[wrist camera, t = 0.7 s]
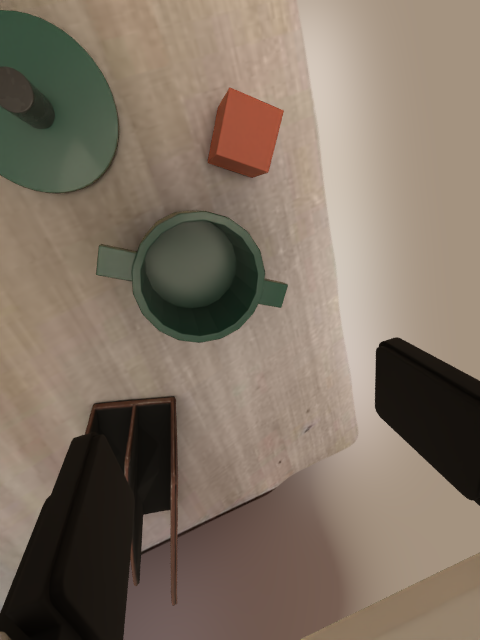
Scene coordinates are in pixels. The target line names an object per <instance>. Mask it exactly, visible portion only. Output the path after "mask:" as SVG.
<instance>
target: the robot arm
mask: <svg viewBox="0 0 480 640" xmlns="http://www.w3.org/2000/svg"><path fill="white" fill-rule="evenodd" d="M375 381H376V382H375V409H376V412H377V413H378V415H379V416H380V417H381V418H382V419H383V420H384V421H385V422H386V423H387V424H388V425H389V426H390V427H391V428H393V430H394V431H396V432H397V433H398V434H399V435H400V436H401V437H402V438H403V439H404V440H405V441H406V442H407V443H409V445H410V446H412V447H413V448H414V449H415V450H416V451H417V452H418V453H419V454H420V455H421V456H422V457H423V458H424V459H425V460H426V461H427V462H428V463H429V464H431V465H432V466H433V467H434V468H435V469H436V470H437V471H438V472H439V473H440V474H441V475H442V476H443V477H445V479H446V480H448V481H449V482H450V483H451V484H452V485H453V486H454V487H455V488H456V489H457V490H458V491H459V492H460V493H461V494H462V495H464V496H465V497H466V498H467V499H469V500H474V501H475V502H476V503H477V504H478V505H479V506H480V381H479V380H477V379H475V378H473V377H471V376H469V375H468V374H466V373H464V372H462V371H460V370H458V369H456V368H455V367H453V366H451V365H449V364H447V363H445V362H443V361H442V360H440V359H437V358H436V357H434V356H432V355H430V354H428V353H427V352H425V351H423V350H421V349H419V348H417V347H415V346H414V345H412V344H410V343H408V342H406V341H404V340H402V339H400V338H393V339H389V340H386V341H383V342H381V343H380V344H379V347H378V348H377V349H376V379H375ZM134 509H135V499H134V494H133V492H132V490H131V488H130V486H129V484H128V482H127V480H126V477H125V475H124V473H123V471H122V469H121V467H120V465H119V463H118V461H117V459H116V457H115V455H114V453H113V451H112V449H111V447H110V445H109V443H108V441H107V439H106V437H105V436H104V435H103V434H102V435H98V434H97V433H96V432H91V433H88V434H85V435H82V436H79V437H75V438H74V439H73V440H72V442H71V444H70V447H69V449H68V452H67V455H66V457H65V460H64V462H63V465H62V468H61V470H60V473H59V475H58V478H57V481H56V483H55V486H54V488H53V491H52V494H51V495H50V496H49V497H48V498H47V499H46V501H45V503H44V505H43V507H42V510H41V512H40V515H39V517H38V520H37V522H36V525H35V527H34V530H33V532H32V535H31V537H30V540H29V542H28V545H27V547H26V550H25V552H24V555H23V557H22V560H21V562H20V565H19V567H18V570H17V572H16V575H15V577H14V580H13V582H12V585H11V587H10V590H9V592H8V595H7V597H6V600H5V603H4V605H3V608H2V610H1V613H0V640H123V635H124V623H125V611H126V601H127V588H128V578H129V565H130V555H131V544H132V532H133V521H134ZM301 640H480V553H478V554H476V555H474V556H472V557H469V558H467V559H465V560H463V561H461V562H459V563H457V564H455V565H453V566H451V567H448V568H446V569H444V570H442V571H440V572H438V573H436V574H434V575H432V576H430V577H428V578H426V579H424V580H422V581H420V582H417V583H415V584H413V585H411V586H409V587H408V588H405V589H403V590H401V591H399V592H397V593H395V594H393V595H391V596H389V597H387V598H384V599H382V600H380V601H378V602H376V603H374V604H372V605H370V606H368V607H366V608H364V609H362V610H360V611H358V612H356V613H354V614H352V615H350V616H348V617H345V618H343V619H341V620H339V621H337V622H335V623H333V624H331V625H329V626H327V627H325V628H323V629H321V630H319V631H317V632H315V633H313V634H311V635H309V636H307V637H305V638H303V639H301Z"/></svg>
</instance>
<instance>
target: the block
mask: <svg viewBox="0 0 480 640" xmlns="http://www.w3.org/2000/svg"><path fill="white" fill-rule="evenodd" d="M283 112H284V111H283V110H281V109H279V108H276V107H274V106H272V105H269V104H267V103H265V102H262V101H260V100H258V99H255V98H253V97H251V96H248V95H246V94H244V93H241V92H239V91H237V90H234V89H232V88H229V89H228V91H227V93H226V95H225V96H224V98H223V100H222V101H221V103H220V105H219V107H218V110H217V115H216V121H215V126H214V131H213V136H212V141H211V146H210V152H209V157H208V163H209V164H212V165H215V166H218V167H221V168H224V169H227V170H230V171H233V172H236V173H239V174H243V175H246V176H249V177H252V178H253V177H256V176H259V175H262V174H265V173H268V171H269V167H270V163H271V159H272V155H273V151H274V147H275V143H276V140H277V136H278V132H279V128H280V124H281V120H282V116H283Z"/></svg>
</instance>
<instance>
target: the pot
mask: <svg viewBox="0 0 480 640" xmlns="http://www.w3.org/2000/svg"><path fill="white" fill-rule="evenodd" d="M96 275H99V276H105V277H111V278H116V279H122V280H127V281H132V287H133V294H134V297H135V299H136V301H137V303H138V305H139V308H140V310H141V312H142V314H143V315H144V316H145V317H146V318H147V319H148V320H149V321H150V322H151V323H152V324H153V325H154V326H155V327H156V328H157V329H158V330H159V331H161V332H163V333H165V334H167V335H169V336H171V337H173V338H175V339H177V340H182V341H190V342H198V343H200V342H206V341H211V340H216V339H221V338H223V337H225V336H227V335H229V334H230V333H232V332H234V331H236V330H238V329H239V328H240V327H241V326H242V325H243V324H244V323H245V322H246V321H247V320H248V319H249V318H250V317H251V315H252V314H253V313H254V311H255V309H256V307H257V305H258V304H262V305H268V306H274V307H279V308H281V306H282V303H283V300H284V297H285V293H286V290H287V287H288V285H287V284H285V283H283V282H279V281H274V280H269V279H264V278H265V270H264V266H263V261H262V257H261V253H260V250H259V248H258V247H257V245H256V244H255V242H254V241H253V239H252V238H251V236H250V235H249V233H248V232H247V231H246V230H245V229H243V228H242V227H241V226H239V225H238V224H236V223H235V222H234V221H232V220H231V219H230V218H228V217H225V216H221V215H217V214H214V213H210V212H206V211H183V212H175V213H172V214H170V215H168V216H166V217H164V218H163V219H161V220H159V221H157V222H156V223H155V224H154V226H153V227H152V228H151V229H150V230H149V231H148V233H147V234H146V235H145V236H144V238H143V240H142V242H141V244H140V245H139V248H138V251H132V250H127V249H123V248H118V247H113V246H108V245H104V244H101V245H99V250H98V260H97V271H96Z"/></svg>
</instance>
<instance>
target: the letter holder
mask: <svg viewBox="0 0 480 640" xmlns="http://www.w3.org/2000/svg"><path fill="white" fill-rule="evenodd" d="M91 432H96V433H97V434H98V435H102V434H103V435H104V436H105V437H106V439H107V441H108V443H109V445H110V447H111V449H112V451H113V453H114V455H115V457H116V459H117V461H118V463H119V465H120V467H121V469H122V471H123V473H124V475H125V477H126V480H127V482H128V484H129V486H130V488H131V490H132V492H133V494H134V499H135V509H134V521H133V532H132V544H131V555H130V558H131V567H132V575H133V582H134V585H135V586H137V585H138V584H139V580H140V562H141V544H142V525H143V515H144V514H149V513H153V512H159V511H165V510H171V540H170V541H171V545H170V546H171V598H172V600H171V601H172V605H173V606H174V605H175V604H177V526H178V524H177V522H178V508H177V497H178V467H177V420H176V399H175V397H167V398H156V399H145V400H134V401H122V402H110V403H98V404H94V405H93V408H92V411H91V414H90V418H89V422H88V425H87V428H86V432H85V434H88V433H91Z"/></svg>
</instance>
